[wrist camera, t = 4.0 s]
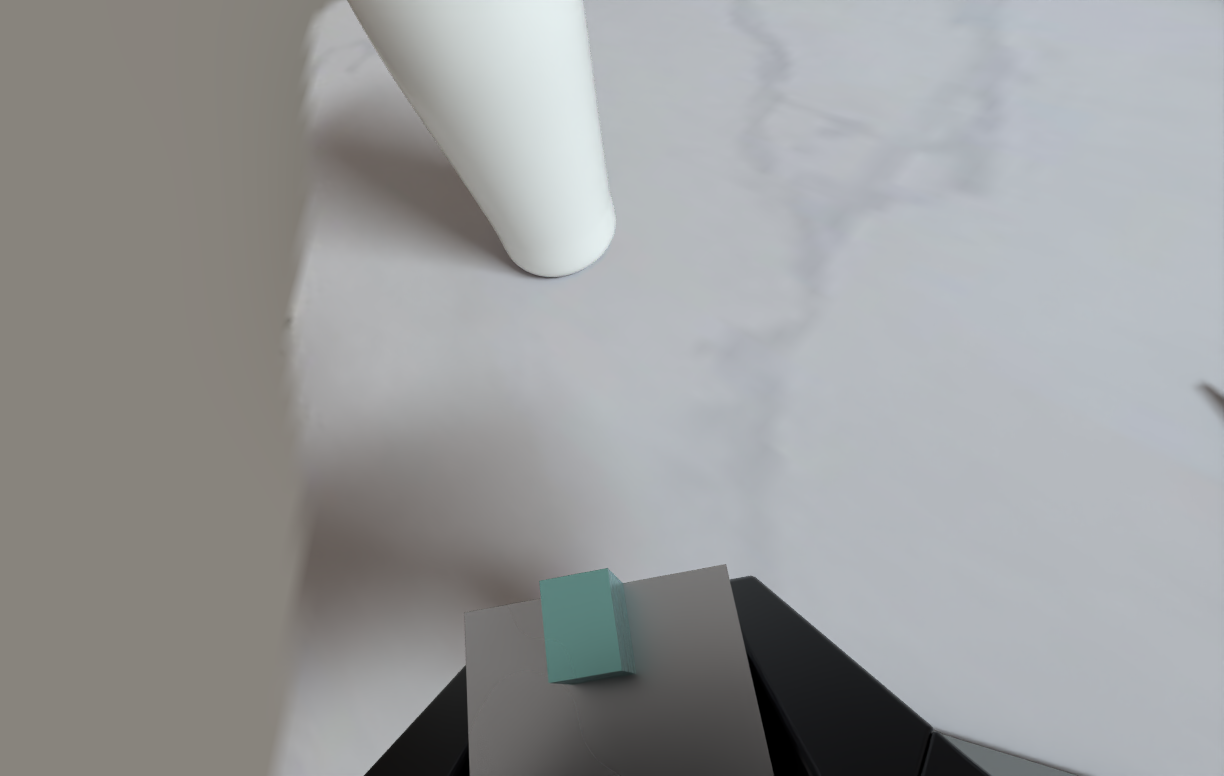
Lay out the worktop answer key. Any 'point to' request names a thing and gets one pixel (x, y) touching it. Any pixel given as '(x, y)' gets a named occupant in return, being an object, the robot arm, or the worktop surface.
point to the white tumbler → (508, 115)
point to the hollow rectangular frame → (614, 681)
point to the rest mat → (1003, 761)
